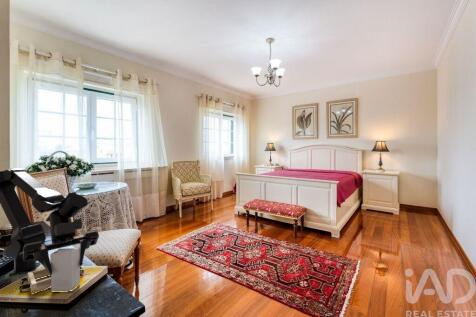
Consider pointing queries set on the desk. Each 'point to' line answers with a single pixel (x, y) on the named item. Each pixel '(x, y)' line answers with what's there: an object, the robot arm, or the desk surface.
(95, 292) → the desk surface
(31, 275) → the socket holder
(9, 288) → the desk surface
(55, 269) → the skincare box
